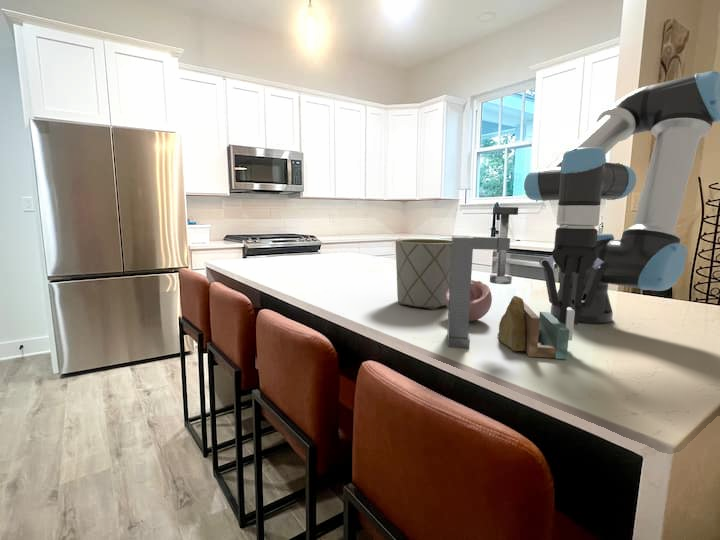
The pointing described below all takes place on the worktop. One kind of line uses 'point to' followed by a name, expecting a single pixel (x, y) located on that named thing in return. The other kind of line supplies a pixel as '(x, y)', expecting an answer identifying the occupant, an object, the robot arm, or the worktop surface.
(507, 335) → the rock
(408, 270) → the planter
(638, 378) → the worktop surface
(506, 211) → the ram
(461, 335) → the press frame
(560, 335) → the frame
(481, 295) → the mortar and pestle
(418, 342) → the worktop surface
